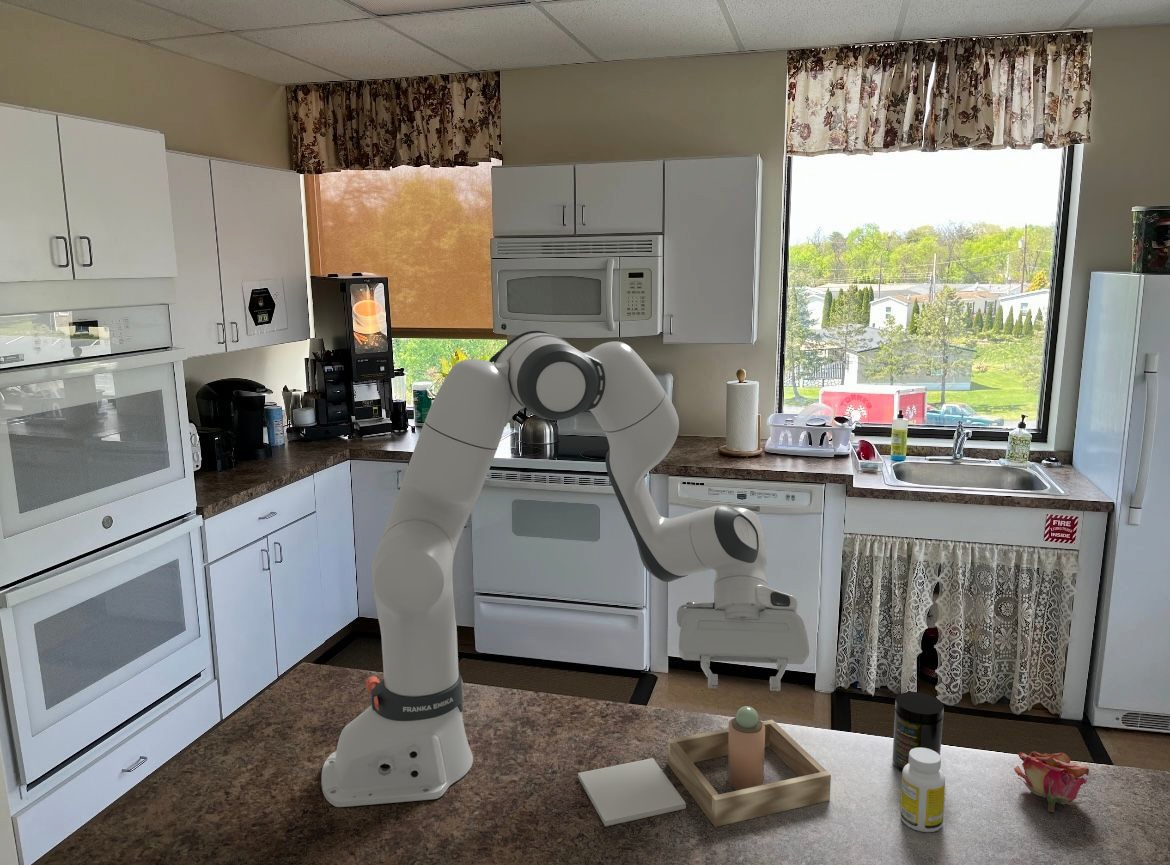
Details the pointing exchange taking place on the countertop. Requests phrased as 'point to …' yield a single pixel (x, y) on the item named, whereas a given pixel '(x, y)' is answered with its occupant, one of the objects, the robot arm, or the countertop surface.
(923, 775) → the supplement bottle
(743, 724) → the peach bottle
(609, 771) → the paving tile
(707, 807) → the brown wooden rectangular frame
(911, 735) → the supplement container
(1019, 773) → the flower
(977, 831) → the countertop surface
